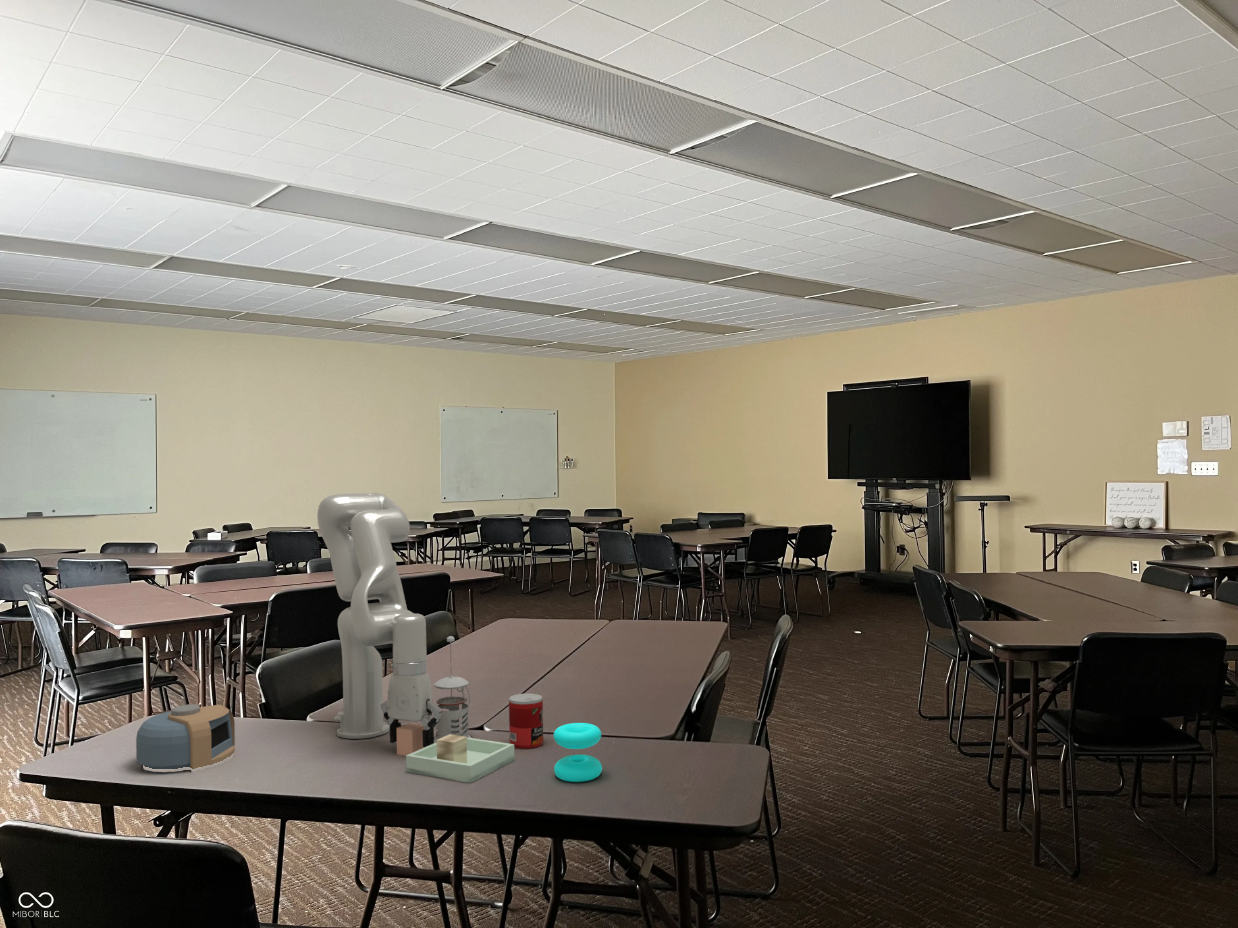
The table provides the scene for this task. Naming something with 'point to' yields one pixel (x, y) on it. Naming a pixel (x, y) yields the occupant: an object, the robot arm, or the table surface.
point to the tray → (479, 763)
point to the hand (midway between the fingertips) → (411, 743)
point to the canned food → (526, 720)
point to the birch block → (452, 748)
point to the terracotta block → (409, 738)
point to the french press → (452, 706)
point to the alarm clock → (186, 737)
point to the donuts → (578, 765)
